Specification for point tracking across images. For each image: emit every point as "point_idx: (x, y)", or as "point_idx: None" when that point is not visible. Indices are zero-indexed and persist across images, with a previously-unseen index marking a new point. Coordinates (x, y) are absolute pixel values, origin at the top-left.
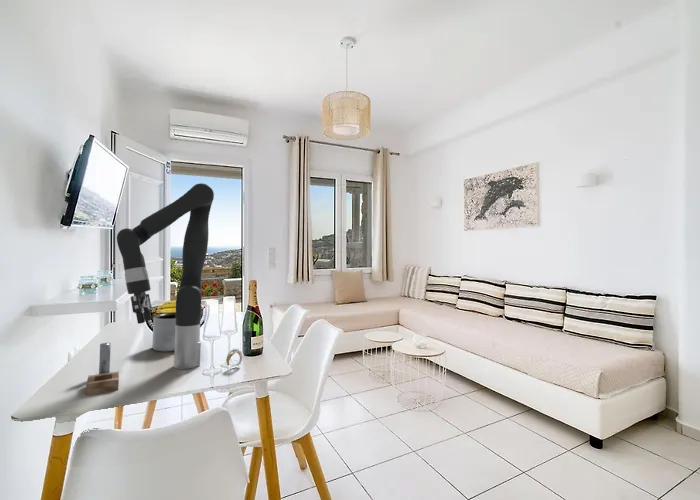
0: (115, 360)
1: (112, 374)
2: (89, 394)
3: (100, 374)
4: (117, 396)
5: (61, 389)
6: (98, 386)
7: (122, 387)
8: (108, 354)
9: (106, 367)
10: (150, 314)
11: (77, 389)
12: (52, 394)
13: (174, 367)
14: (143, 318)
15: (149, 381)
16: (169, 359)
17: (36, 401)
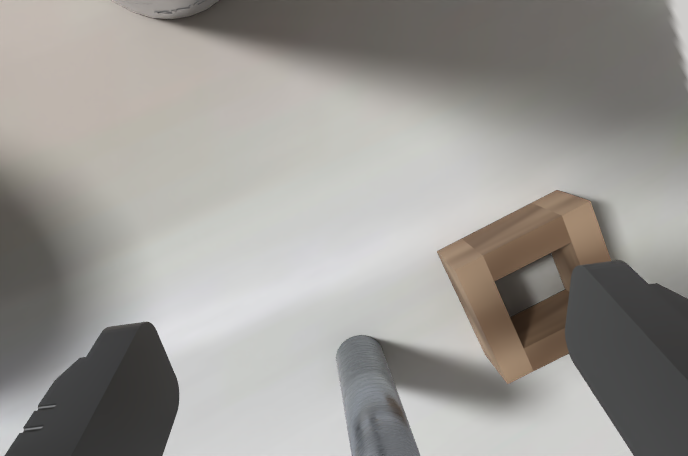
0: None
1: (505, 275)
2: None
3: (497, 336)
4: (639, 151)
5: (513, 432)
6: None
7: (527, 185)
8: (394, 415)
9: (385, 368)
10: (69, 409)
11: None
12: (563, 429)
13: (216, 1)
14: (665, 308)
15: (457, 76)
16: (20, 116)
17: None
